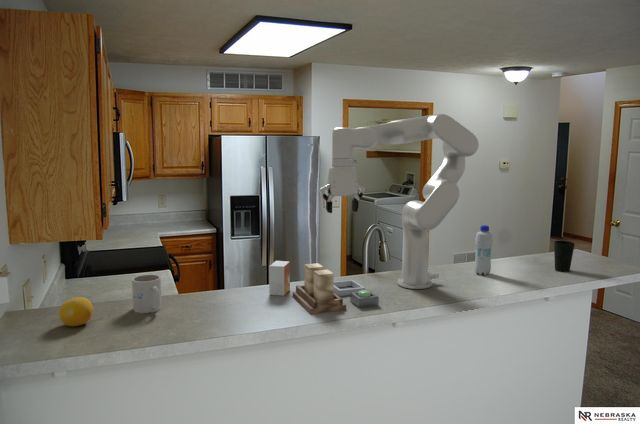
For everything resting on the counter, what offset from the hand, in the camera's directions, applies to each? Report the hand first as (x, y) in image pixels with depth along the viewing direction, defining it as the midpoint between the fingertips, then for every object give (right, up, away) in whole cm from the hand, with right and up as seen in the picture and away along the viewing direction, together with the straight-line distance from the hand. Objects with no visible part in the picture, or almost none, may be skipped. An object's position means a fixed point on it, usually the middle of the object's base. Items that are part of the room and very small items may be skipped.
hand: (342, 211), depth 175 cm
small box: (-22, -29, 0) cm, 36 cm away
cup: (+93, -25, +31) cm, 101 cm away
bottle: (+58, -25, +26) cm, 68 cm away
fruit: (-79, -33, -31) cm, 91 cm away
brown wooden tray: (-8, -30, -11) cm, 33 cm away
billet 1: (-10, -28, -7) cm, 30 cm away
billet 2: (-7, -29, -15) cm, 33 cm away
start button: (+7, -29, -11) cm, 32 cm away
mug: (-62, -31, -19) cm, 72 cm away
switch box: (+7, -30, -11) cm, 33 cm away
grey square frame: (+2, -28, +3) cm, 28 cm away
